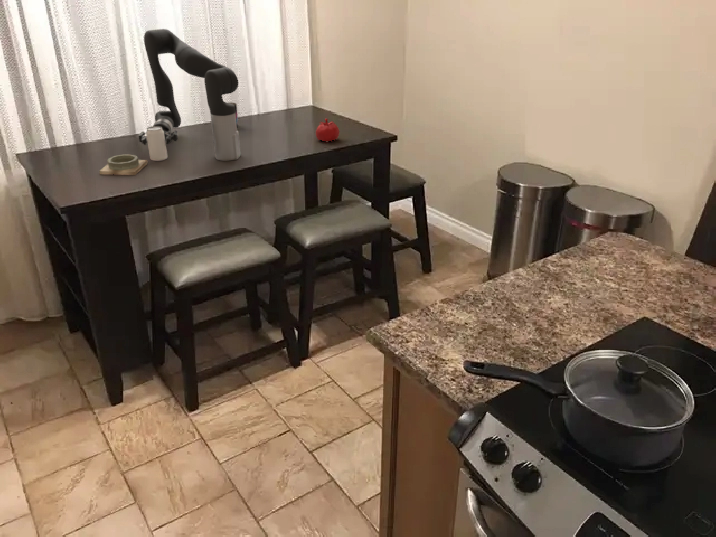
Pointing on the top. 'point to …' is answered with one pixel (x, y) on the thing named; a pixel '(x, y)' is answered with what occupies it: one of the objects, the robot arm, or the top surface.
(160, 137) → the can
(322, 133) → the pomegranate
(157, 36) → the robot arm
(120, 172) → the can holder
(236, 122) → the supplement container
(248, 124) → the top surface
